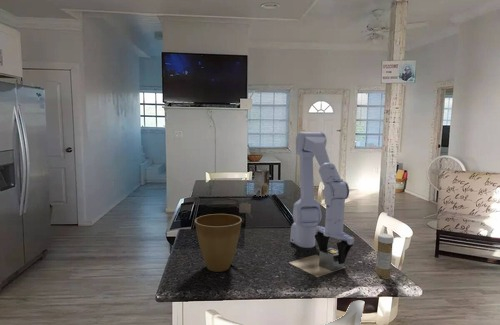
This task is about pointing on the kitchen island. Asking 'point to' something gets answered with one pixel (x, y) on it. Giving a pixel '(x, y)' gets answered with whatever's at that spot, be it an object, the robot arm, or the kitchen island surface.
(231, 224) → the plant pot
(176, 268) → the kitchen island surface
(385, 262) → the sprinkles bottle
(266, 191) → the coffee box
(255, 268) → the kitchen island surface
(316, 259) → the plate
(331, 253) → the brass post
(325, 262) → the grey hollow square block
